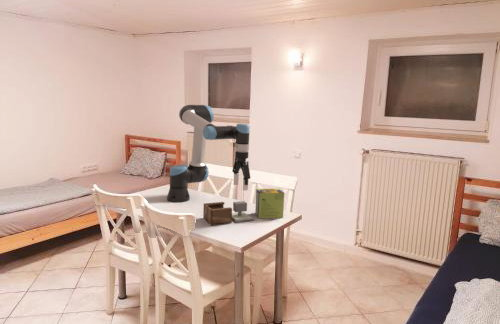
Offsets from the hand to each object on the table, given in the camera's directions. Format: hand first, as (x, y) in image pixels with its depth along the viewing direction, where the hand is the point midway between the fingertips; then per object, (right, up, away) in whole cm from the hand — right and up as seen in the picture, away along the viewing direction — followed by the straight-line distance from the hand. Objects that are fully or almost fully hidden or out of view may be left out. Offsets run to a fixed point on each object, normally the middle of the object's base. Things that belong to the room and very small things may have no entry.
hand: (240, 187), depth 205 cm
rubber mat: (-1, -18, +3) cm, 18 cm away
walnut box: (-13, -19, -3) cm, 23 cm away
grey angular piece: (-1, -18, +3) cm, 18 cm away
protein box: (+17, -18, +10) cm, 27 cm away
